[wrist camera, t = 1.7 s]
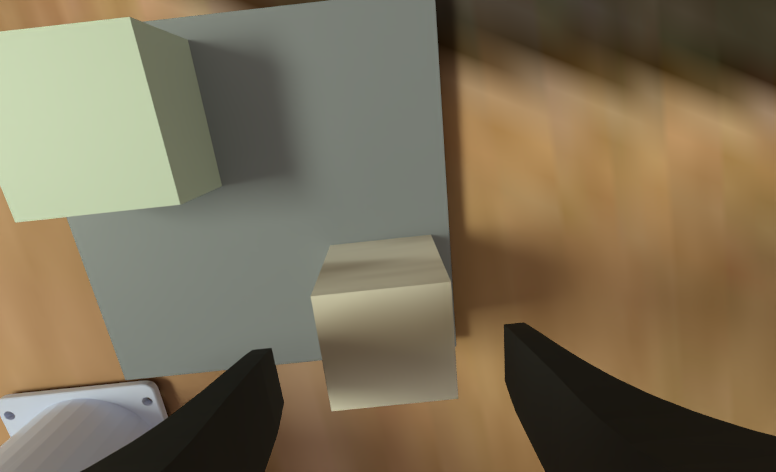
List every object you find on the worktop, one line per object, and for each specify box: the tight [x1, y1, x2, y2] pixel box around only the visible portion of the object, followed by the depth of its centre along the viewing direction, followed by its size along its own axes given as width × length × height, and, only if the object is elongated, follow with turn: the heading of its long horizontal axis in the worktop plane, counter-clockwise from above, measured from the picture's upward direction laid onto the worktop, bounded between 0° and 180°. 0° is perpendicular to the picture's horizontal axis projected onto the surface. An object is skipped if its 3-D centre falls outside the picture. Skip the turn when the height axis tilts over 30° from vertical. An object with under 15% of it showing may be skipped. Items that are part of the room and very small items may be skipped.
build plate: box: [67, 0, 456, 380], centre depth 17 cm, size 15×16×1 cm
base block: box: [0, 17, 222, 222], centre depth 14 cm, size 6×6×4 cm
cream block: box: [311, 235, 458, 411], centre depth 15 cm, size 4×4×5 cm
